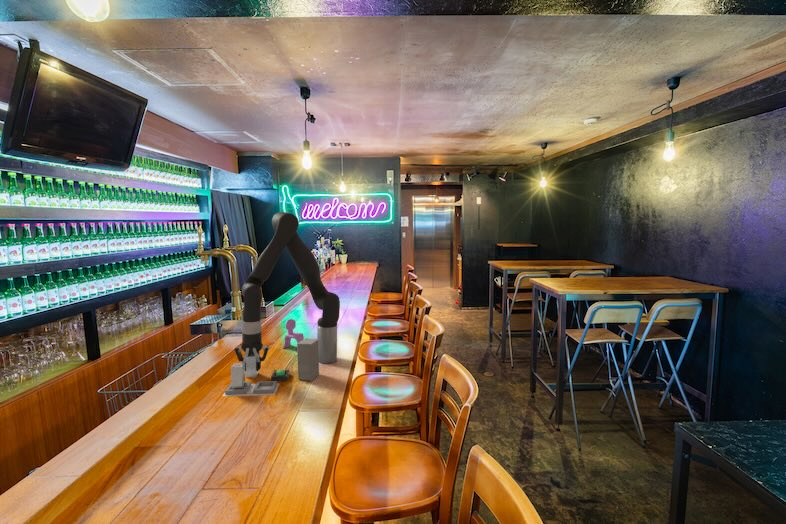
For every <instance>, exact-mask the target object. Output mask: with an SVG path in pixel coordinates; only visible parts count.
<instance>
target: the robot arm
mask: <svg viewBox="0 0 786 524" xmlns="http://www.w3.org/2000/svg"><path fill="white" fill-rule="evenodd" d="M271 225H272V228H273V230H274V231H275V233H274V235H273V238H272V239H271V241H270V242H269V244H268V245H267V246H266V248H264V250H263V252H262V253H261V254H260V255H259V257H258V258H257V261H256V262H255V265H254V266H253V268H252V271H251V272H250V273H249V276H248V277H247V278H246V280H245V281H244V282H243V285H242V287H241V294H242V296H243V308H242V325H241V333H242V334H241V341H242V342H241V344H240V346H239V345H237V346H236V347H235V348H234V352H235V355H236V357H237V359H238V362H241V363H245V372H246V356H248V355H255V356H256V360H257V371H258V372H259V371H260V369H261V367H262V362H264V361H265V360H266V358H267V355H268V352H269V350H270V346H269V345H264V344H263V342H262V340H263V337H262V335H263V334H262V332H263V331H262V330H263V328H262V327H263V326H262V311H261V308H262V302H263V292H262V287H263V285H264V282H266V281H267V280H268V279H269V277H270V275H271V273H272V272H273V270H274V268H275V265H276V264H277V261H278V259H279V257H280V256H281V254H282V252H283V251H284V249H285V248H286V250H287V251H288V253H289V256H290V259H291V260H292V261H293V263H294V264H293V265H294V266H295V268H296V269H297V272H298V273H299V275H300V276H301V278H302V280H303V282H304V284H305V285H306V286H307V289H308V290H309V293H310V295H311V298H312V300H313V303H314V305H315V306H316V307H317V309H319V310H322V313H321V314H322V315H321V317H320V318H319V319H317V336H316V337H317V338H316V339H318V351H319V364H333V363H337V360H338V359H337V358H338V322H339V318H340V310H341V309H340V307H341V301H340V298H339V296H338V294H337V293H335V292H331V291H329V290H328V289H327V288H326V287H325V285H324V284H323V281H322V278H321V269H320V265H319V263H318V260H317V259H316V256H315V255H314V254H313V251H311V250H310V248H309V247H308V245H307V244H306V243H305V242H304V241H303V239H301V237H300V236H299V233H298V232H297V230H298V229H299V225H300V223H299V218H298V217H297V216H296V215H295V214H293V213H291V212H285V211H279V212H276V213H275V214H274V215H273V217H272V219H271ZM261 350H262V351H263V354H262V357H261V353H260V352H261ZM242 351H243V352H244V355H243V354H242Z"/></svg>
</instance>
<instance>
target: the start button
mask: <svg viewBox="0 0 786 524" xmlns="http://www.w3.org/2000/svg"><path fill="white" fill-rule="evenodd" d="M276 370H277V369H276ZM285 370H286V369H282V368H281V369H278V370H277V371H276V376H278V375H285Z"/></svg>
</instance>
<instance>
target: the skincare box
mask: <svg viewBox="0 0 786 524" xmlns="http://www.w3.org/2000/svg"><path fill="white" fill-rule="evenodd" d="M296 343H297V342H296ZM296 345H297V347H296V349H297V351H296V353H297V380H300V379H301V381H309V380H311V381H310V382H313V380H314V379H315V378H316V377H317V376H318V375H319V374H320V362H319V351H318V339H317V338H305V337H304V340H301V342H299V343H297V344H296Z"/></svg>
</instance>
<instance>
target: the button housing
mask: <svg viewBox="0 0 786 524" xmlns="http://www.w3.org/2000/svg"><path fill="white" fill-rule="evenodd" d="M284 370H285V375H278V376H276V371H277V369H274V370H273V372H272V374H271V376H270V381H277V382H288V381H289V377H290V375H291V374H290V373H291V372H290V369H284Z"/></svg>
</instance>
